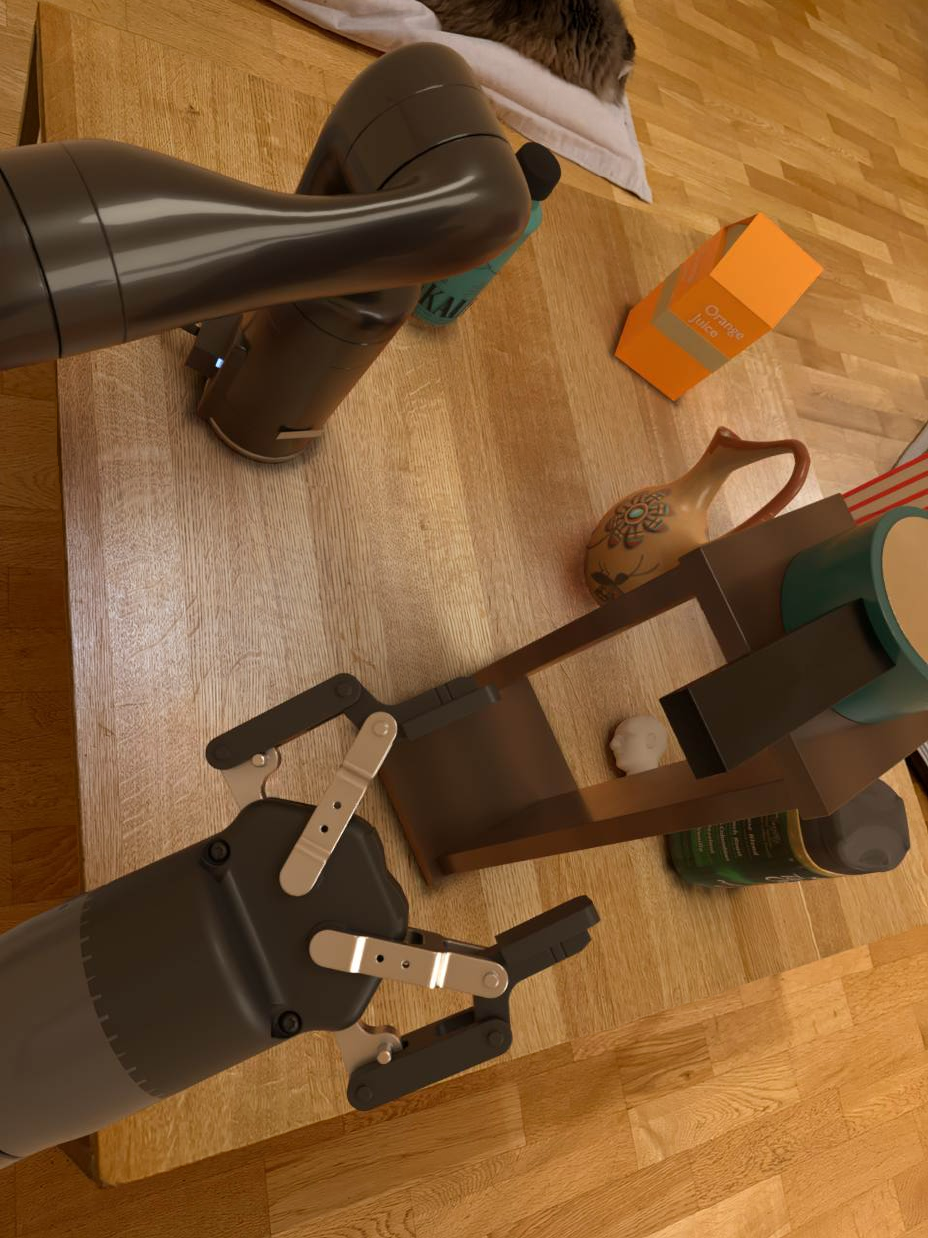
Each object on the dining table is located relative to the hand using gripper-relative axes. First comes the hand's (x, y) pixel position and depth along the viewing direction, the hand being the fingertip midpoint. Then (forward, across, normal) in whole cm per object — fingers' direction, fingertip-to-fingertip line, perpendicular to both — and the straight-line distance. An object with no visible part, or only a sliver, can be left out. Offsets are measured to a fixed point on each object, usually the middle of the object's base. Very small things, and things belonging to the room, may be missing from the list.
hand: (544, 797), depth 34 cm
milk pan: (+13, 0, +6) cm, 14 cm away
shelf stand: (0, 0, +42) cm, 42 cm away
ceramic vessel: (+19, +11, +53) cm, 57 cm away
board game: (+32, -2, +61) cm, 69 cm away
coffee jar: (+17, -16, +52) cm, 56 cm away
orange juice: (+38, +32, +64) cm, 81 cm away
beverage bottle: (+14, +41, +50) cm, 66 cm away
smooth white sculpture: (+13, -6, +49) cm, 51 cm away
